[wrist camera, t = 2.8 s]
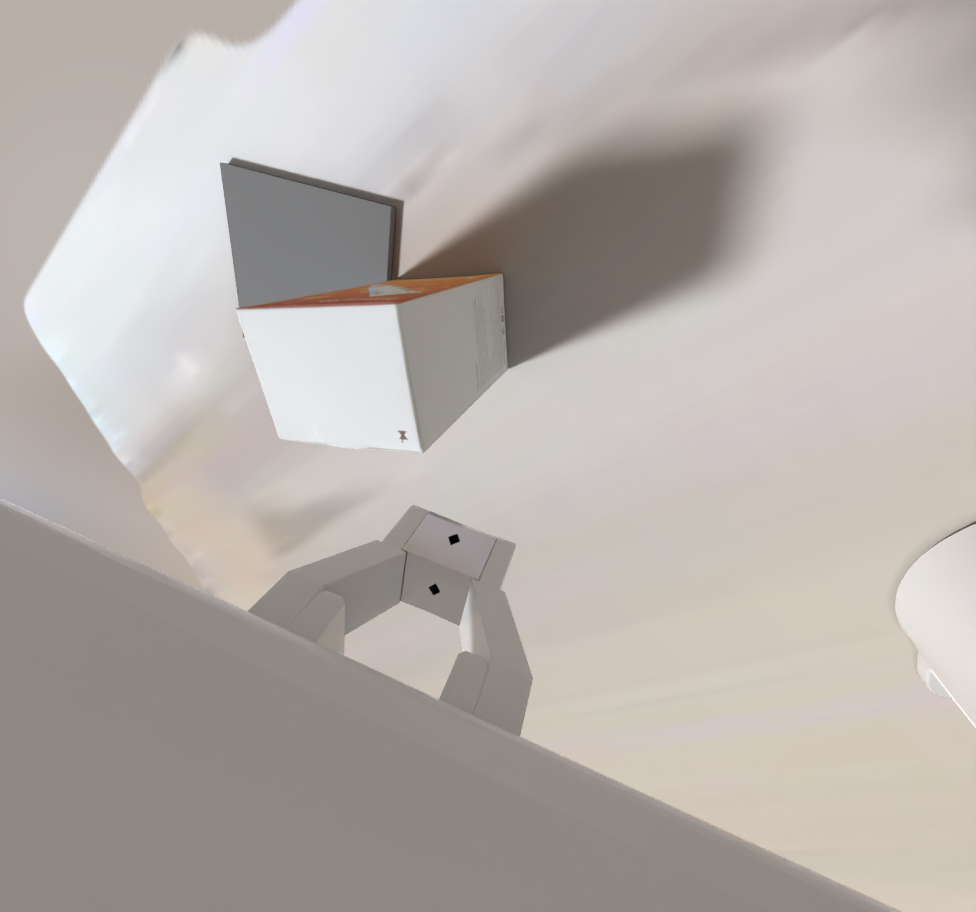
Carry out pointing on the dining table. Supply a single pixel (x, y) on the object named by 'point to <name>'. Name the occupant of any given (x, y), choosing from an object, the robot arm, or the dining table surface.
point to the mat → (302, 237)
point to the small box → (378, 359)
